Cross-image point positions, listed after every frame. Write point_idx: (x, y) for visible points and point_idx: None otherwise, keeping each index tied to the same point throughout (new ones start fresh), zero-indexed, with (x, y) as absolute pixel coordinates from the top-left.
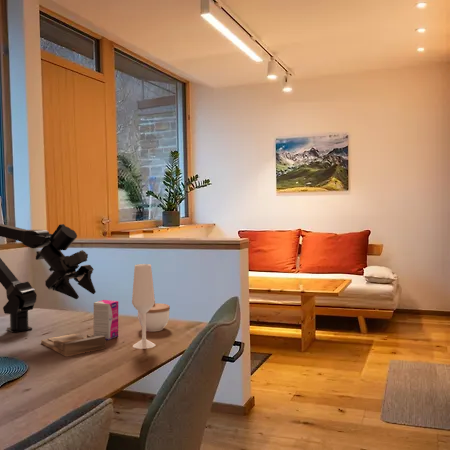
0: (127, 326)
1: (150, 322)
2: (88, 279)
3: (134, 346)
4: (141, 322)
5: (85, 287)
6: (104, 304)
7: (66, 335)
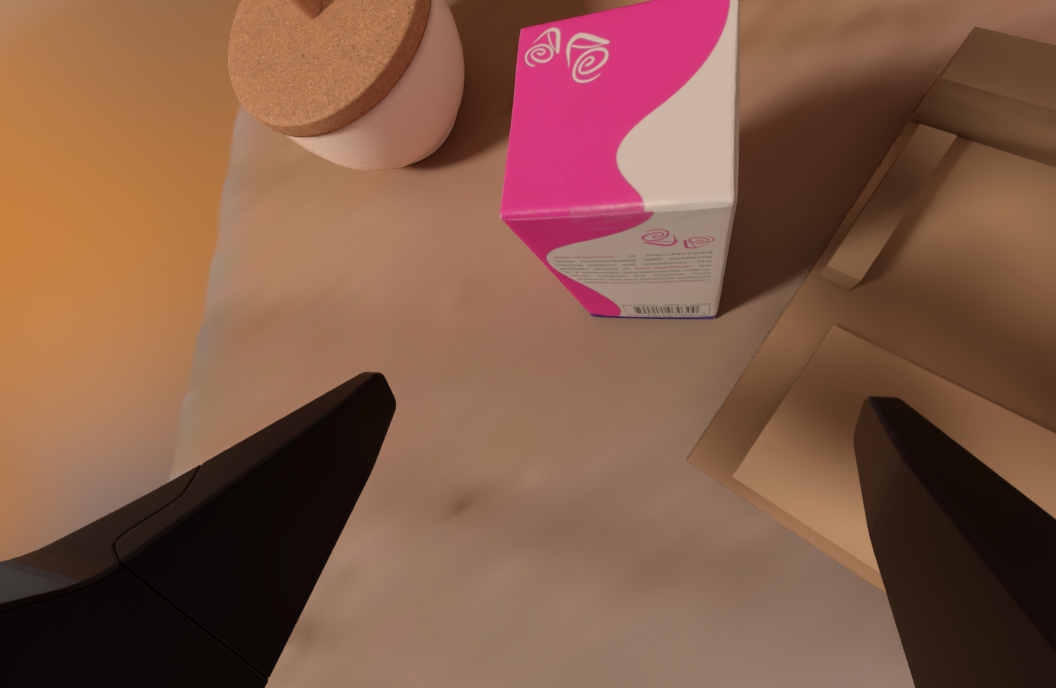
0: (380, 289)
1: (459, 37)
2: (141, 551)
3: None
4: (448, 108)
5: (297, 579)
6: (737, 45)
7: (808, 512)
